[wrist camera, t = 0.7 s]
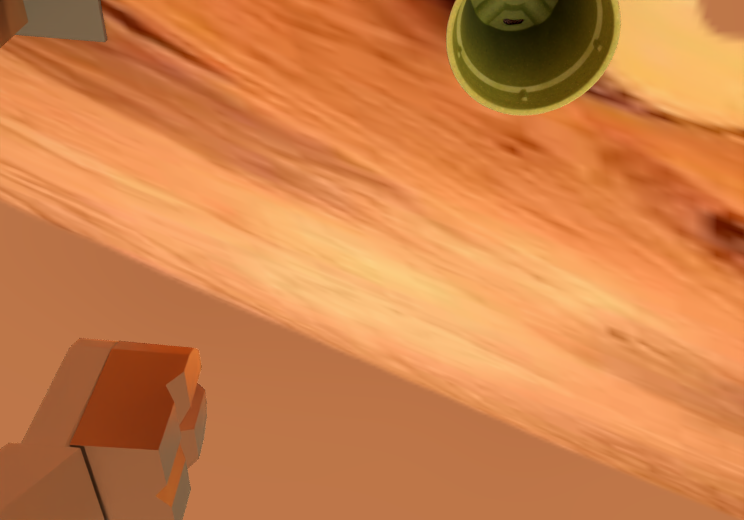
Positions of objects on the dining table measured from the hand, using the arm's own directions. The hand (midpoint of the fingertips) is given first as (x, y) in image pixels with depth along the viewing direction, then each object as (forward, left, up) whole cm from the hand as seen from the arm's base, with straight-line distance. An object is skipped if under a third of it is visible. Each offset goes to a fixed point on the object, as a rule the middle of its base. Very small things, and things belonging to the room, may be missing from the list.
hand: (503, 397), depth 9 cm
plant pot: (+8, +6, -41) cm, 42 cm away
